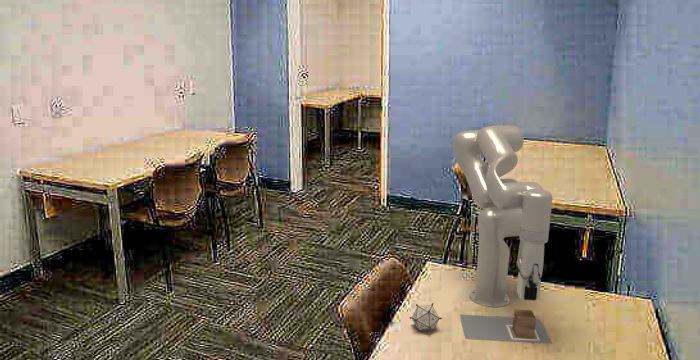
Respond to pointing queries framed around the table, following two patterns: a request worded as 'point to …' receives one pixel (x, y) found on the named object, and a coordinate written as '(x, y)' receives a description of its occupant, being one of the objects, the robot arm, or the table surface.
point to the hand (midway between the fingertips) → (527, 294)
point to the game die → (425, 317)
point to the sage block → (523, 282)
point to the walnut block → (524, 323)
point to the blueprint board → (499, 329)
